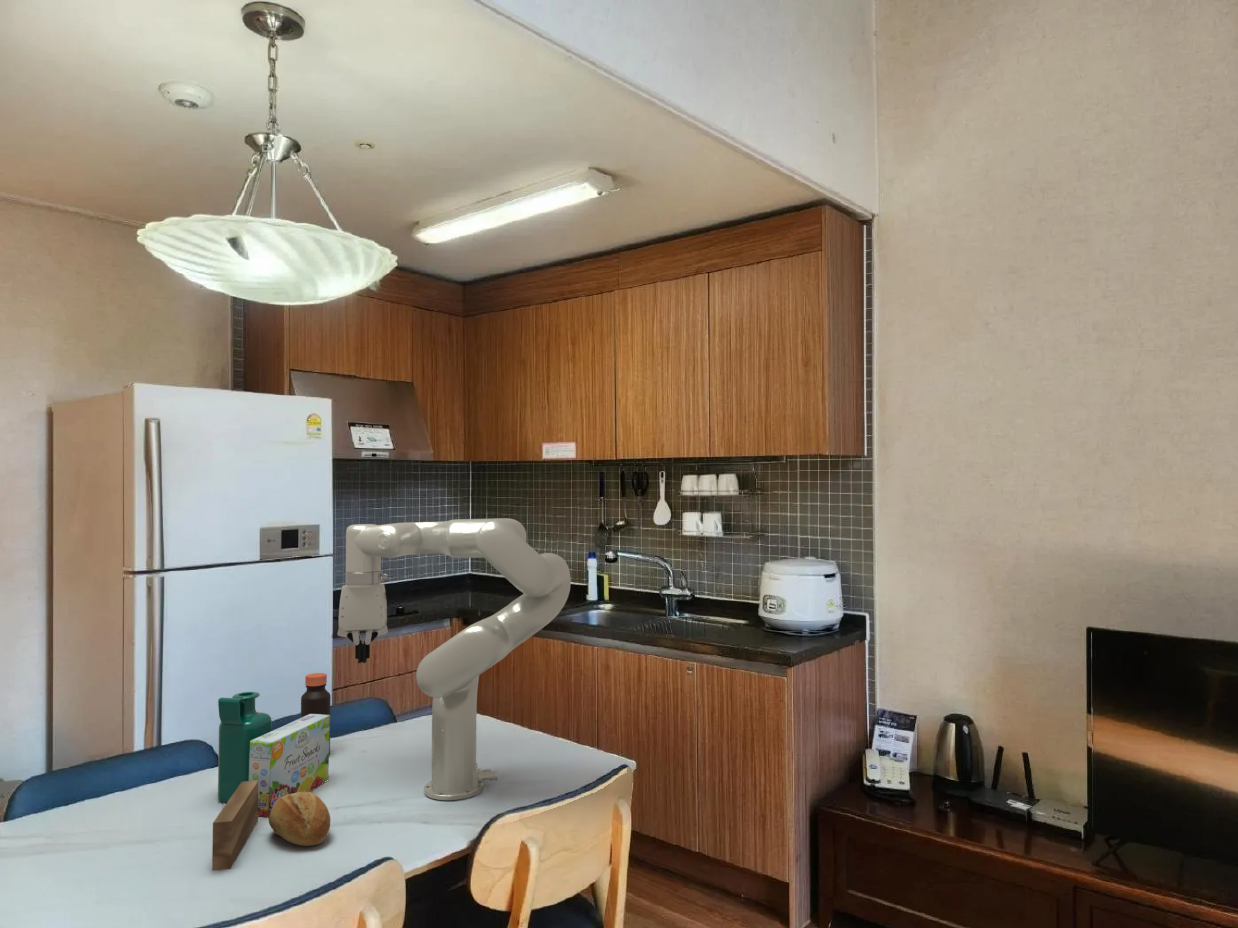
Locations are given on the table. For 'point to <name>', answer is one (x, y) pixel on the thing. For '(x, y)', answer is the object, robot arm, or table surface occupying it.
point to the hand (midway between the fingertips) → (362, 661)
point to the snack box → (290, 759)
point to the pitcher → (237, 740)
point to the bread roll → (300, 818)
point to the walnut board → (234, 825)
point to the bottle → (316, 696)
